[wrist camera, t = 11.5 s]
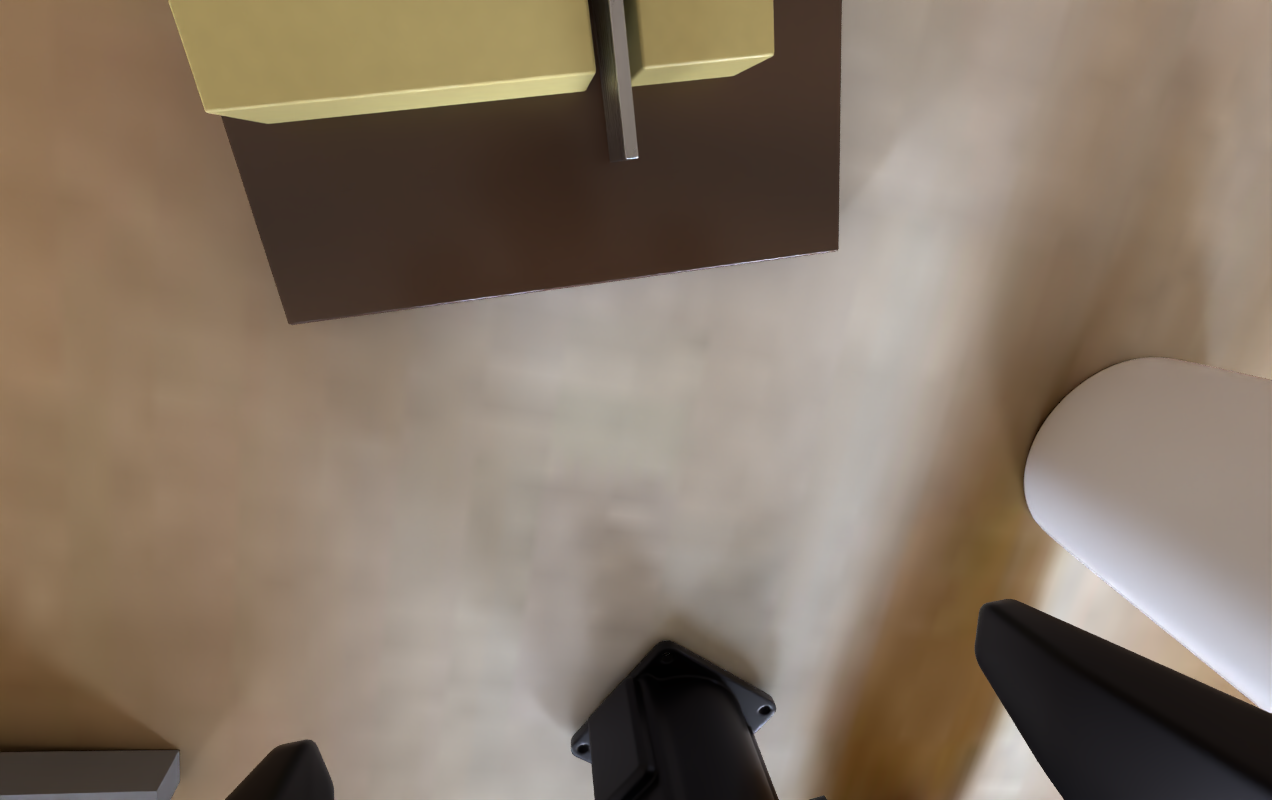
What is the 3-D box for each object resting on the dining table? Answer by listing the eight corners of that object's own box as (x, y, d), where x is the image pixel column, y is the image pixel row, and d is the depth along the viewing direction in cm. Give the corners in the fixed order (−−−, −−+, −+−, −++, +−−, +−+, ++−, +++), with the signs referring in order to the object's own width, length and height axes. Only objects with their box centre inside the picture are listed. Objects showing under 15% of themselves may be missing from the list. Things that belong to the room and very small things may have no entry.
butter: (586, 91, 16) (596, 73, 13) (266, 124, 15) (203, 113, 12) (567, -71, 15) (573, -129, 12) (215, -44, 14) (133, -99, 11)
